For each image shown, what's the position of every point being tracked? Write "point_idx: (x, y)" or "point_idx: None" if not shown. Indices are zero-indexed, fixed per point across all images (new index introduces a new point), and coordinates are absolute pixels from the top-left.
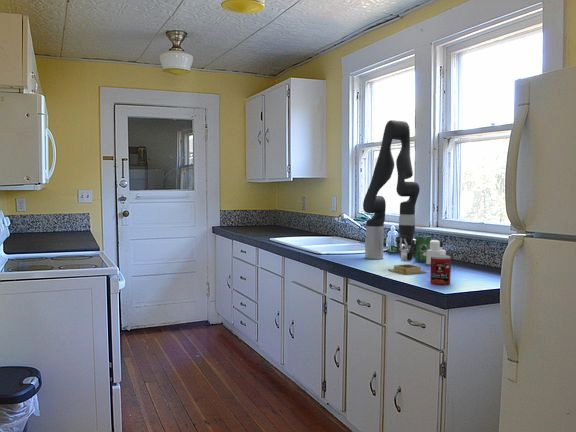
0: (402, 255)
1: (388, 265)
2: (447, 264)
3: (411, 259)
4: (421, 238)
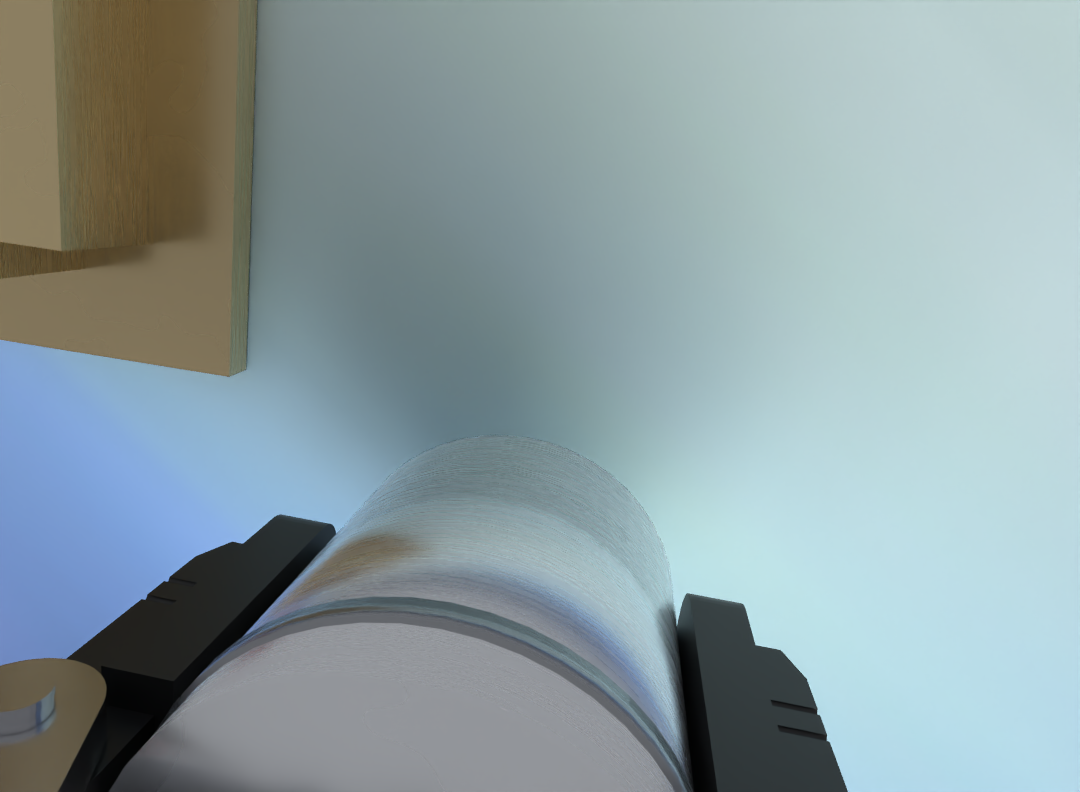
0: (444, 513)
1: (1032, 340)
2: None
3: None
4: None
